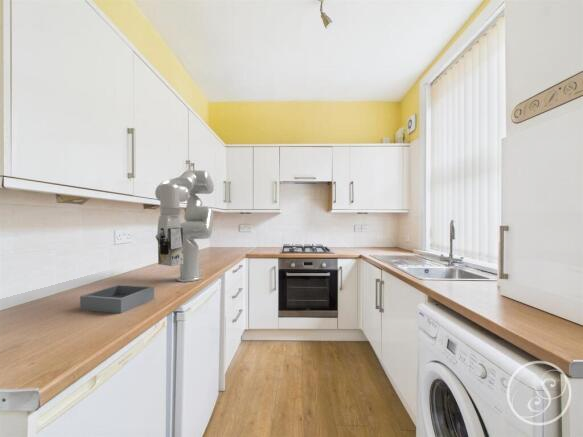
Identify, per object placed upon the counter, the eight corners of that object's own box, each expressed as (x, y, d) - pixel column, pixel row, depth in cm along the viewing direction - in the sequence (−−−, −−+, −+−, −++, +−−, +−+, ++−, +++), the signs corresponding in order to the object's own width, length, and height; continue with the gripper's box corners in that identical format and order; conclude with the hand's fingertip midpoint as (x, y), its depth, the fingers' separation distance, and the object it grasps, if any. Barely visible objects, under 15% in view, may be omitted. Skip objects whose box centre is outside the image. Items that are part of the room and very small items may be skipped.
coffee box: (184, 263, 109) (183, 227, 109) (171, 266, 104) (170, 228, 103) (170, 262, 114) (170, 227, 113) (157, 264, 108) (156, 227, 108)
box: (118, 296, 108) (118, 284, 108) (154, 298, 104) (154, 286, 104) (80, 309, 92) (80, 296, 92) (121, 313, 89) (120, 299, 89)
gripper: (175, 212, 118) (176, 249, 118) (147, 212, 100) (148, 255, 101) (189, 212, 116) (190, 250, 116) (163, 212, 99) (164, 256, 99)
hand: (170, 252), depth 109 cm, fingers closed on coffee box, 7 cm apart
